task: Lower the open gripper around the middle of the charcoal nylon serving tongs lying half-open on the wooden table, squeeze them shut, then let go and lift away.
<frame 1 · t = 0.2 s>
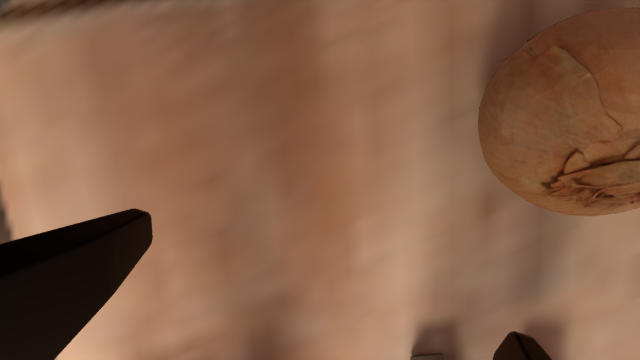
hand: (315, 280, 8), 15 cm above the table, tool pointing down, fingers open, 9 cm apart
onion: (541, 115, 20), on the table
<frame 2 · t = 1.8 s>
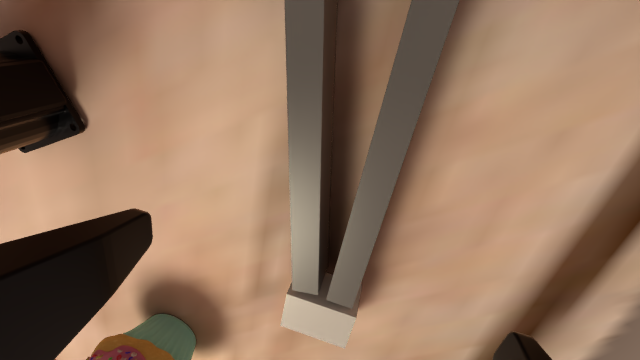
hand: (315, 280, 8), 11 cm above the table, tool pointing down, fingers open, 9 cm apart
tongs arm: (304, 82, 15), point 1 cm above the table, hinge at 10.0°
cupcake: (175, 331, 30), on the table
tongs base: (330, 274, 22), on the table
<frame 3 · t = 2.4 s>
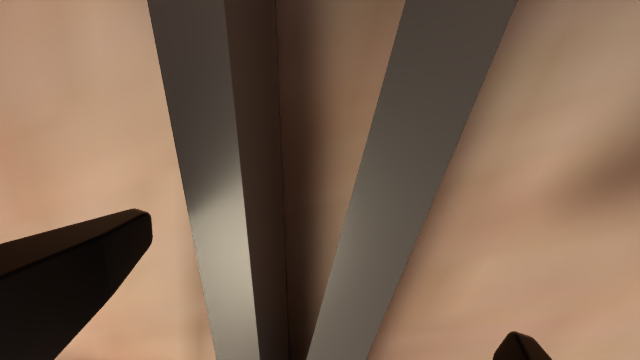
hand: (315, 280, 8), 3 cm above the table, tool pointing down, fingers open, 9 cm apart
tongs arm: (219, 133, 9), point 1 cm above the table, hinge at 10.0°
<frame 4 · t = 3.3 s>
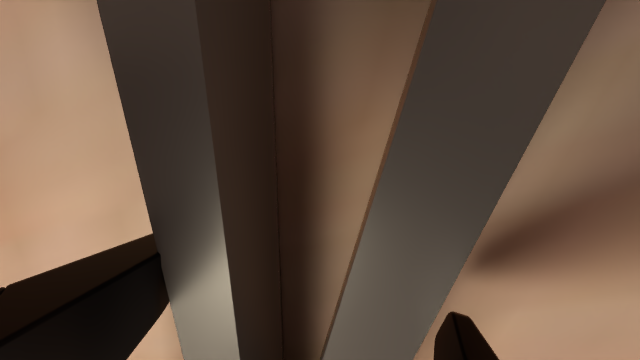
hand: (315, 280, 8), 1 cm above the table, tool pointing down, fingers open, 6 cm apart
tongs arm: (201, 163, 7), point 2 cm above the table, hinge at 9.5°, touching gripper
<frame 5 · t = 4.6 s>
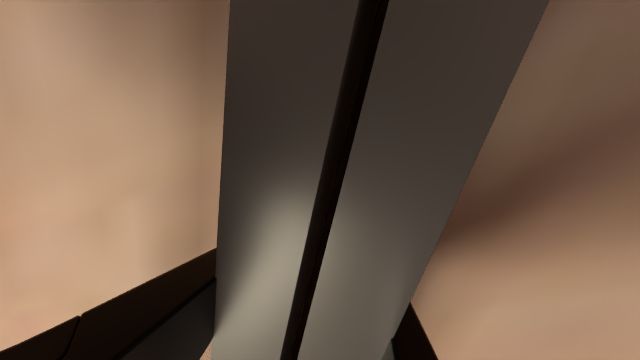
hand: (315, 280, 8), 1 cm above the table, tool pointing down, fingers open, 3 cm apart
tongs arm: (269, 173, 7), point 1 cm above the table, hinge at -0.2°, touching gripper
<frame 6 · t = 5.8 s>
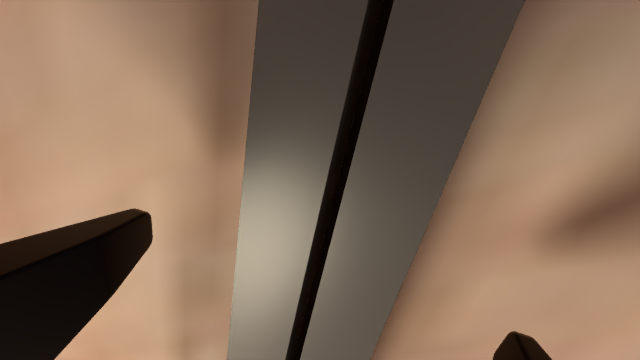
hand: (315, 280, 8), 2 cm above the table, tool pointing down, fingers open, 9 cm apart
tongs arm: (285, 153, 7), point 1 cm above the table, hinge at -0.2°
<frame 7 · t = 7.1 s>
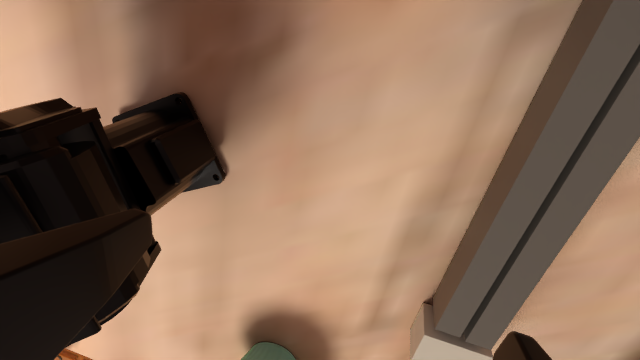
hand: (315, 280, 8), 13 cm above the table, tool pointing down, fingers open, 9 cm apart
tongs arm: (525, 155, 16), point 2 cm above the table, hinge at -0.2°
cupcake: (275, 358, 32), on the table
tongs base: (453, 312, 24), on the table
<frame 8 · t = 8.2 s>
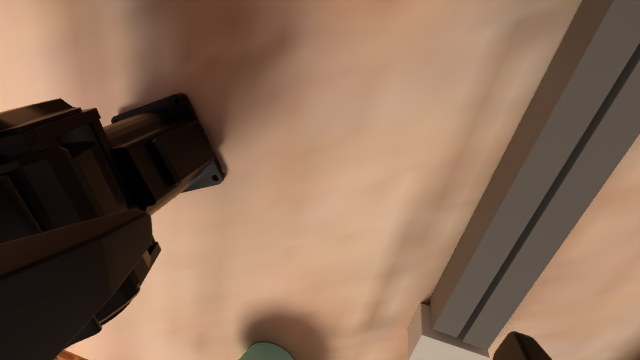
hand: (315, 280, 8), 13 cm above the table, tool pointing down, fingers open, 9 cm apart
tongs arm: (522, 158, 17), point 1 cm above the table, hinge at -0.2°
cupcake: (273, 358, 32), on the table
tongs base: (450, 312, 24), on the table
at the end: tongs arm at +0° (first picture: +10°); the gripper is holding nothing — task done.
